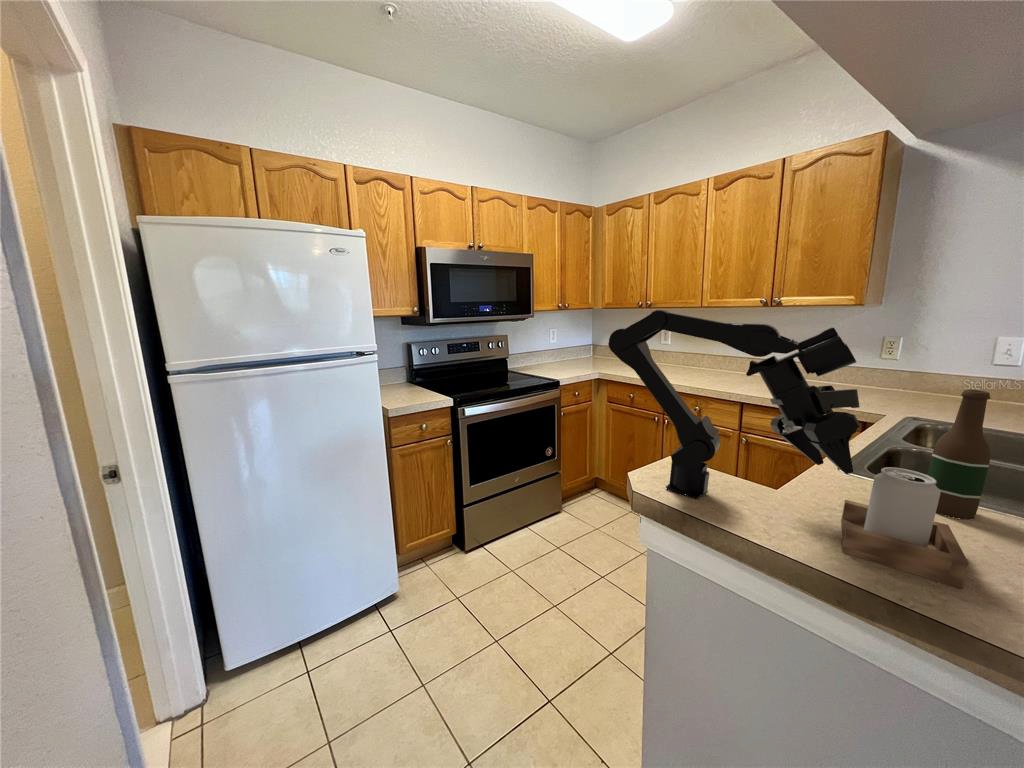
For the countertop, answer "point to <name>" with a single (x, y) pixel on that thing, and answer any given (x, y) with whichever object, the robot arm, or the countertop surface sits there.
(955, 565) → the brown wooden square tray
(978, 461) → the beer bottle
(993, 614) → the countertop surface
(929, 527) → the can
